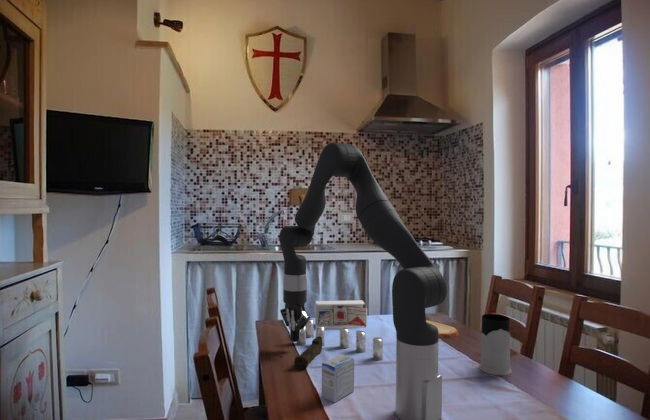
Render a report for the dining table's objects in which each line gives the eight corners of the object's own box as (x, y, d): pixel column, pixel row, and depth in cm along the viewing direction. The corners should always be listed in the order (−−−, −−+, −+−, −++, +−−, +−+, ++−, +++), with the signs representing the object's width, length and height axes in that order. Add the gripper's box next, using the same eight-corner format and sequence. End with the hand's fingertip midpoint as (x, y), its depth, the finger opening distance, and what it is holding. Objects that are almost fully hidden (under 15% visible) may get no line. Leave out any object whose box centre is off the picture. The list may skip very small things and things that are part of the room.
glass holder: (485, 375, 114) (485, 321, 114) (468, 356, 129) (469, 308, 129) (516, 375, 114) (517, 321, 114) (497, 356, 128) (497, 308, 128)
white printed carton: (316, 328, 156) (316, 304, 156) (315, 324, 162) (315, 300, 162) (367, 327, 158) (368, 303, 158) (365, 323, 164) (365, 300, 164)
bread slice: (463, 338, 147) (463, 327, 147) (416, 341, 143) (416, 330, 143) (438, 324, 165) (438, 314, 165) (396, 326, 161) (396, 317, 161)
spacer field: (386, 357, 127) (386, 338, 127) (358, 368, 118) (358, 348, 118) (315, 332, 151) (316, 316, 151) (287, 340, 142) (287, 323, 142)
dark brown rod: (306, 371, 117) (306, 355, 117) (293, 369, 118) (293, 353, 118) (329, 349, 134) (329, 335, 134) (317, 348, 136) (318, 334, 136)
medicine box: (340, 386, 106) (340, 353, 106) (354, 392, 104) (354, 357, 104) (320, 397, 100) (321, 362, 100) (335, 403, 98) (335, 367, 97)
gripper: (317, 289, 130) (316, 343, 130) (291, 283, 139) (291, 333, 140) (299, 292, 125) (298, 349, 125) (273, 285, 134) (273, 338, 135)
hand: (294, 341), depth 132 cm, fingers closed
